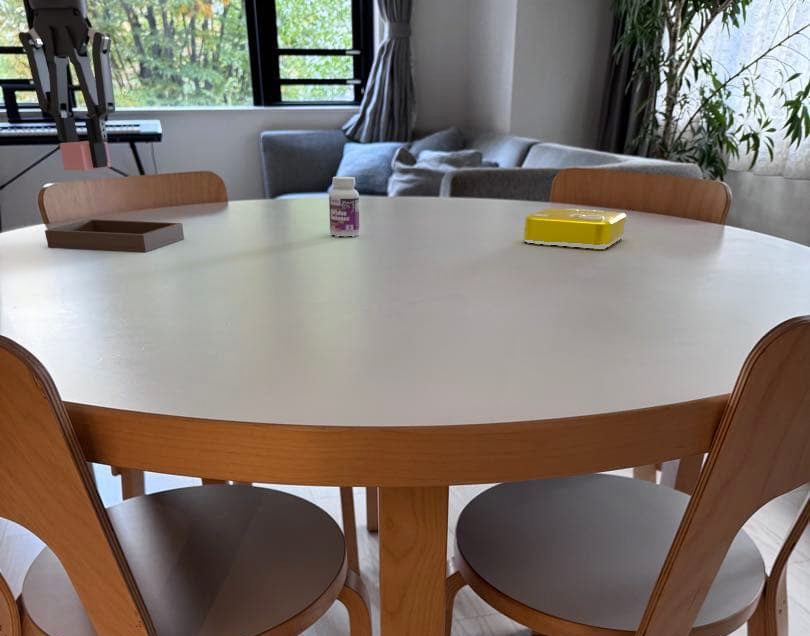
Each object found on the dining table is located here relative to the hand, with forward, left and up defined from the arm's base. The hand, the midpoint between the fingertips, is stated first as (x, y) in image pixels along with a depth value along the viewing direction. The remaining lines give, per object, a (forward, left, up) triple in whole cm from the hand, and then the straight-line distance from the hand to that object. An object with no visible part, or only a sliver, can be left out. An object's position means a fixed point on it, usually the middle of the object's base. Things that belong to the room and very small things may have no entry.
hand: (88, 166), depth 115 cm
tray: (-2, +8, -12) cm, 15 cm away
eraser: (0, 0, 0) cm, 0 cm away
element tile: (+74, +31, -13) cm, 81 cm away
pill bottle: (+33, +26, -13) cm, 44 cm away
